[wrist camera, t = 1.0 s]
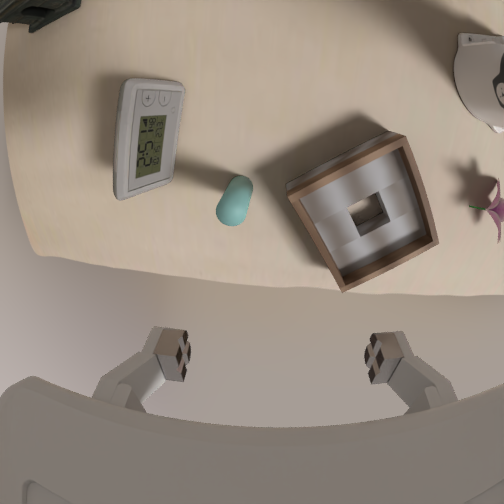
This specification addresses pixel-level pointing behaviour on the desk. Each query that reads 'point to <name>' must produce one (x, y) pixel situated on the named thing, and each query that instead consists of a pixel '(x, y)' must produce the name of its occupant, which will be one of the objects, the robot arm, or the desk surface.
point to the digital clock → (146, 135)
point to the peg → (235, 201)
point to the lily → (496, 210)
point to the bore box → (376, 229)
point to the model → (35, 11)
